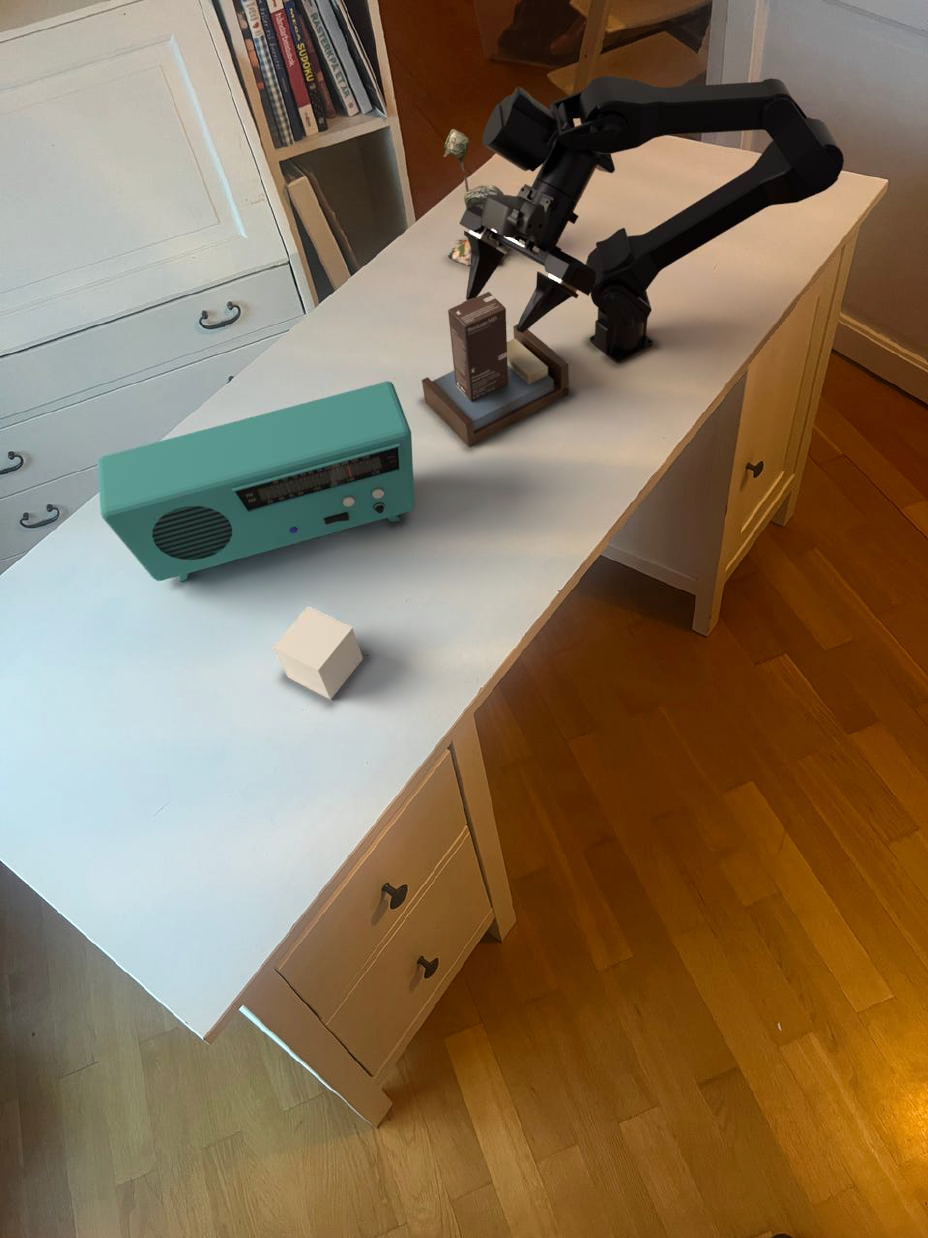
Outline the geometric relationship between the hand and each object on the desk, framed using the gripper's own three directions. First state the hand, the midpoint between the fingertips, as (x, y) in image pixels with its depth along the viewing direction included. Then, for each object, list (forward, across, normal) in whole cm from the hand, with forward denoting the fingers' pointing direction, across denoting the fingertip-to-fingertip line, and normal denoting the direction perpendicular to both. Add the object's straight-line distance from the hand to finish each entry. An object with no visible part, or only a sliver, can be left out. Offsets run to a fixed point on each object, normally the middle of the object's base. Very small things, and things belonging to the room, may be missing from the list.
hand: (493, 315), depth 109 cm
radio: (+34, -1, -16) cm, 37 cm away
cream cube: (+40, +18, -21) cm, 49 cm away
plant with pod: (-5, -26, +24) cm, 35 cm away
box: (+9, 0, +5) cm, 10 cm away
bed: (+10, 0, +8) cm, 13 cm away
